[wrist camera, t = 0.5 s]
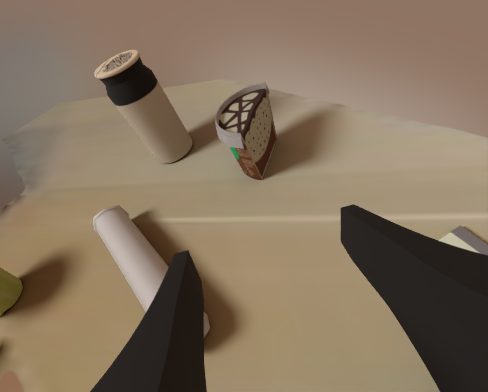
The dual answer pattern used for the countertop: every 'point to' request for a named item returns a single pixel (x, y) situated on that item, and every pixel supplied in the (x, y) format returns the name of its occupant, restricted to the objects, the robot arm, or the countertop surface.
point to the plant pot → (8, 290)
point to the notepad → (465, 240)
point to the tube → (133, 255)
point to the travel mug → (145, 105)
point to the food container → (248, 128)
